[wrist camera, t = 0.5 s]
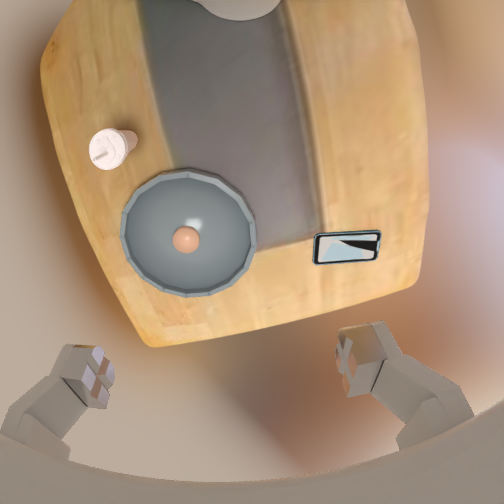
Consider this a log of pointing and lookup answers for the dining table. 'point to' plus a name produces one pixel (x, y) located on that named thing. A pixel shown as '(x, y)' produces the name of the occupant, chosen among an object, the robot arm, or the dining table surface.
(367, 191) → the dining table surface
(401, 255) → the dining table surface
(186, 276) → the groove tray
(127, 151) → the smoothie
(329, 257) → the smartphone
